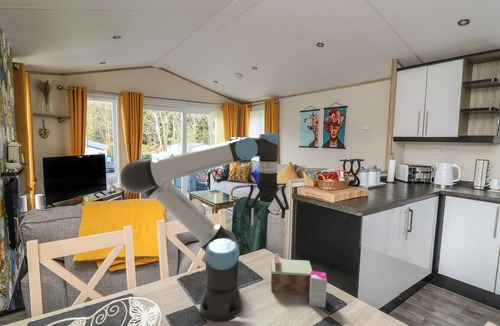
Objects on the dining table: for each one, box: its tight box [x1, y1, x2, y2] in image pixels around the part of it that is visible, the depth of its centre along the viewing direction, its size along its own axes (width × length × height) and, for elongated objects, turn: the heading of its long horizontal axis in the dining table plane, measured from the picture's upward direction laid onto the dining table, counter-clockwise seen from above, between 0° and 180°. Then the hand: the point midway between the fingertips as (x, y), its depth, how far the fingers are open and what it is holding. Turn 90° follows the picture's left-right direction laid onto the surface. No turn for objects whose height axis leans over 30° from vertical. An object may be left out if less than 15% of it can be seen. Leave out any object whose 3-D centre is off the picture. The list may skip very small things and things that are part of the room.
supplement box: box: [308, 270, 328, 308], centre depth 96 cm, size 6×6×12 cm
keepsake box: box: [270, 268, 310, 295], centre depth 107 cm, size 16×11×8 cm
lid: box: [271, 252, 313, 276], centre depth 107 cm, size 16×11×4 cm
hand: (266, 225), depth 106 cm, fingers open, 11 cm apart
